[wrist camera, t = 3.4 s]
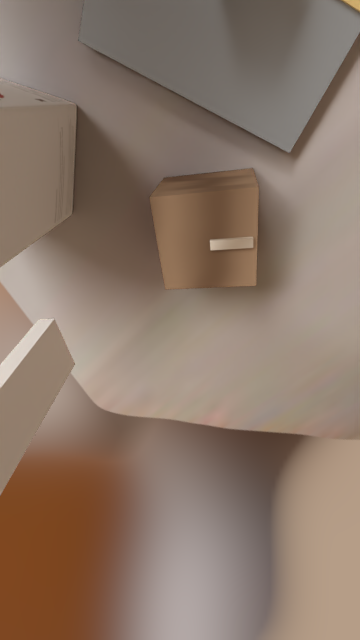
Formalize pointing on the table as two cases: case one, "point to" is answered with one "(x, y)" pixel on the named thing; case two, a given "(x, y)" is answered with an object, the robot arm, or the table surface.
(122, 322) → the table surface
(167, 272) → the brown cardboard crate
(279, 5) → the plate
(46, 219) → the supplement box
